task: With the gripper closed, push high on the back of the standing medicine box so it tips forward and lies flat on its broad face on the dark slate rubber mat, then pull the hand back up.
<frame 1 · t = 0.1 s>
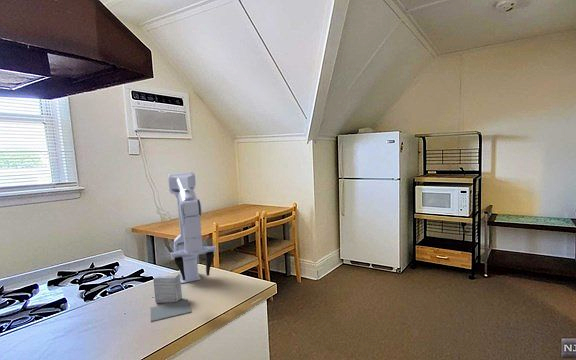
hand: (196, 276, 108), 10 cm above the counter, fingers open, 7 cm apart
slate mat: (170, 310, 107), on the counter
medicine box: (168, 300, 115), on the counter, touching slate mat
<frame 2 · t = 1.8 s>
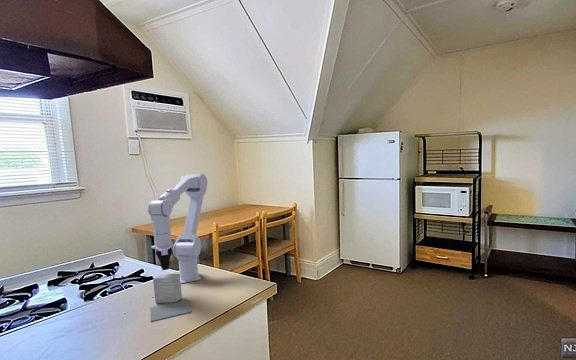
hand: (165, 269, 120), 9 cm above the counter, fingers closed
nothing on the counter moved.
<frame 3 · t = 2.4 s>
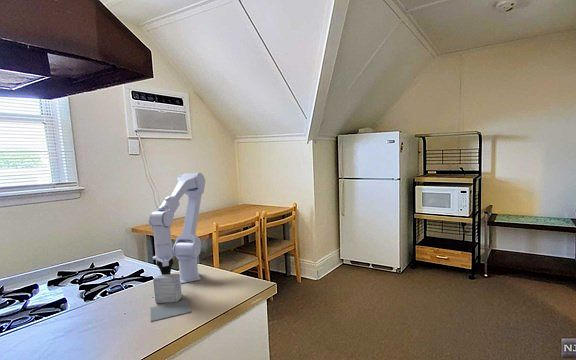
hand: (166, 279, 120), 5 cm above the counter, fingers closed
nothing on the counter moved.
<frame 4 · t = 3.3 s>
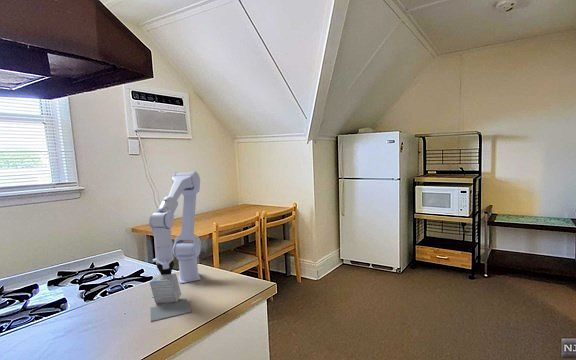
hand: (166, 282, 117), 5 cm above the counter, fingers closed
medicine box: (168, 299, 115), on the counter, touching gripper, slate mat
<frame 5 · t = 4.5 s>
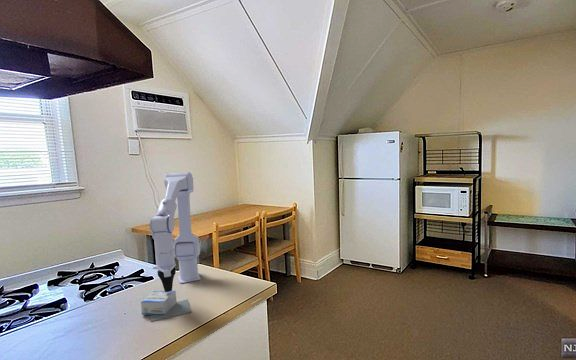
hand: (168, 290, 110), 5 cm above the counter, fingers closed
medicine box: (165, 296, 113), point 2 cm above the counter, touching slate mat
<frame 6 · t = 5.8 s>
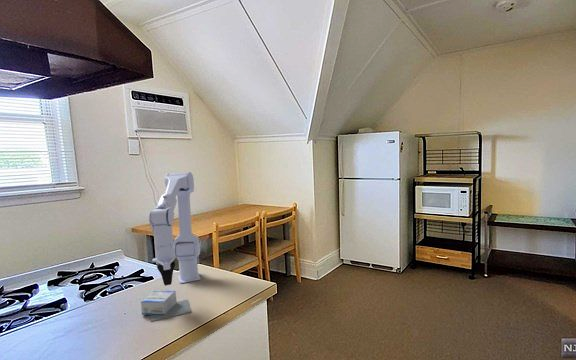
hand: (167, 284, 109), 8 cm above the counter, fingers closed
nothing on the counter moved.
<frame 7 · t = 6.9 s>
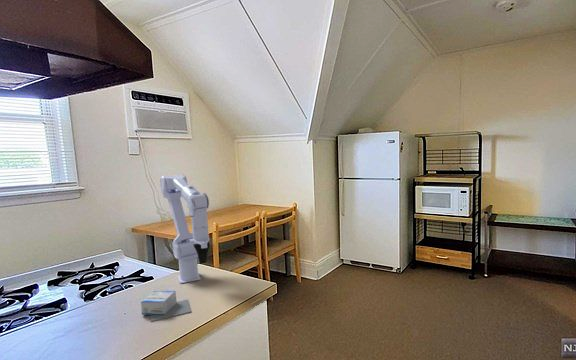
hand: (203, 262, 122), 10 cm above the counter, fingers closed
nothing on the counter moved.
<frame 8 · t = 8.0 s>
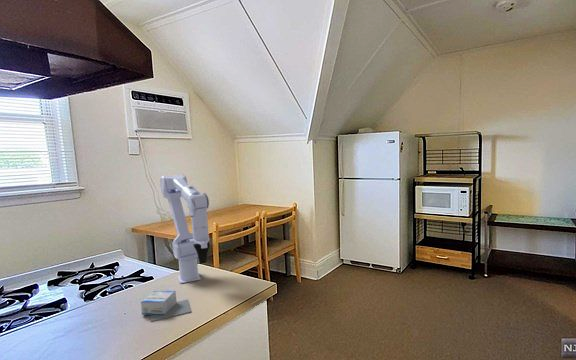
hand: (203, 262, 122), 10 cm above the counter, fingers closed
nothing on the counter moved.
at the end: medicine box tilted 89°; medicine box touching slate mat; medicine box inside the target area (2.9 cm from its centre), point 2.4 cm above the counter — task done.
